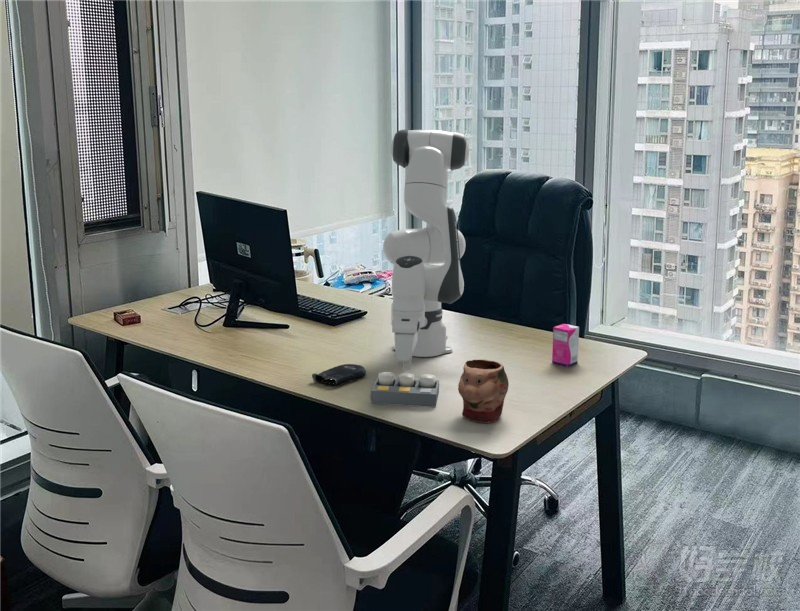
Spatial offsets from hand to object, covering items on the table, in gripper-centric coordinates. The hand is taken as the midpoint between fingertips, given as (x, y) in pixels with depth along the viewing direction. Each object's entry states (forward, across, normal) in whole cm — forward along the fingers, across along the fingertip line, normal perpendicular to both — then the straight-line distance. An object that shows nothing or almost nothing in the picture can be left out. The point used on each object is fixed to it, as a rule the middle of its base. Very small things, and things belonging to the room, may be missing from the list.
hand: (407, 368), depth 227 cm
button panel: (+8, +2, 0) cm, 8 cm away
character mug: (+8, +10, +21) cm, 25 cm away
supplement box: (+8, -36, +44) cm, 58 cm away
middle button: (+5, 0, 0) cm, 5 cm away
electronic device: (+8, -11, -20) cm, 24 cm away
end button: (+5, 0, -6) cm, 7 cm away
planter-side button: (+5, 0, +6) cm, 7 cm away
